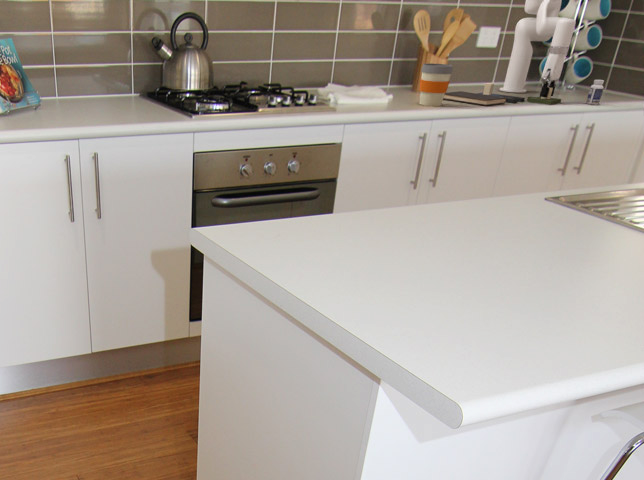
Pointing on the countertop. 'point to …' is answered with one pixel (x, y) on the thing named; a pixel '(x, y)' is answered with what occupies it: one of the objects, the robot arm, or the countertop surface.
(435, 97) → the reusable coffee cup
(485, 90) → the slate tile
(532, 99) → the olive tile
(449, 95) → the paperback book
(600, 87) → the pill bottle
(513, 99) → the base tile
